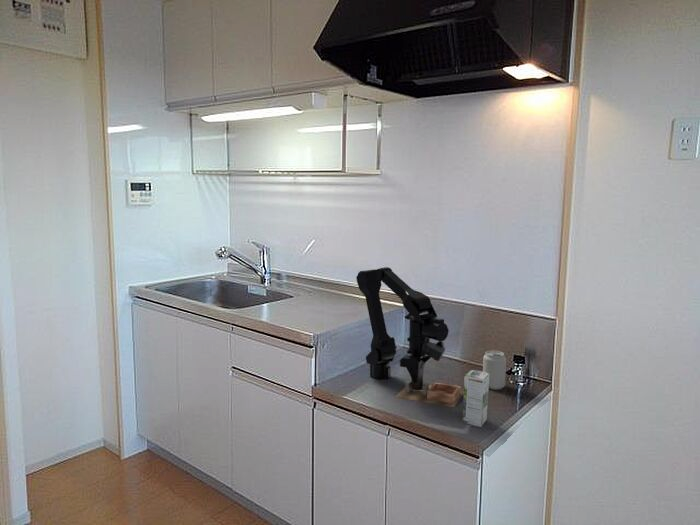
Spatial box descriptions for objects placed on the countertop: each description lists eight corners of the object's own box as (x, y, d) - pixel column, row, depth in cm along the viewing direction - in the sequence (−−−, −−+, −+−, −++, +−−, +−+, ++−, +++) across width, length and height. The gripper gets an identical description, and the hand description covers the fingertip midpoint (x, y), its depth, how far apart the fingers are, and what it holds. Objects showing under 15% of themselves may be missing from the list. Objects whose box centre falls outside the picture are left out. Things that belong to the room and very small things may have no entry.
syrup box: (468, 415, 155) (469, 369, 153) (487, 420, 152) (489, 372, 150) (461, 423, 150) (463, 375, 148) (482, 428, 147) (484, 378, 145)
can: (493, 392, 172) (494, 357, 171) (477, 384, 179) (478, 351, 177) (509, 388, 176) (511, 354, 174) (494, 381, 182) (495, 348, 181)
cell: (409, 389, 169) (410, 360, 168) (413, 384, 173) (413, 357, 171) (421, 391, 167) (421, 362, 166) (425, 386, 171) (425, 358, 170)
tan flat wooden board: (395, 399, 166) (395, 387, 166) (409, 385, 179) (409, 373, 178) (453, 410, 158) (454, 397, 158) (464, 394, 171) (464, 382, 170)
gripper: (434, 345, 156) (433, 394, 158) (450, 330, 172) (448, 375, 175) (399, 340, 161) (398, 388, 163) (418, 326, 177) (417, 370, 179)
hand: (417, 380), depth 170 cm, fingers closed on cell, 4 cm apart
